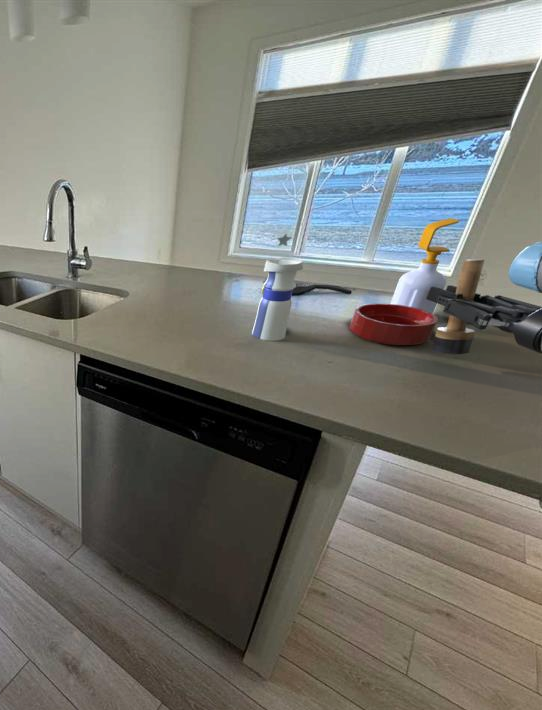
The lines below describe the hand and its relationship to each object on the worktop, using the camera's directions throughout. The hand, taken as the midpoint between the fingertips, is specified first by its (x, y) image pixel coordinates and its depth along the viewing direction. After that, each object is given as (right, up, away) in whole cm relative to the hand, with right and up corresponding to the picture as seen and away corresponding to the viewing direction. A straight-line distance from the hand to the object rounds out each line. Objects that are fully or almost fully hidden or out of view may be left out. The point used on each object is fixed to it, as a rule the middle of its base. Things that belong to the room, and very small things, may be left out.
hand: (438, 292), depth 87 cm
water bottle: (-26, -7, +19) cm, 33 cm away
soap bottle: (+14, -2, +22) cm, 26 cm away
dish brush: (+1, -13, -2) cm, 13 cm away
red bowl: (+1, -8, +14) cm, 16 cm away
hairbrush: (+1, +10, +44) cm, 45 cm away
